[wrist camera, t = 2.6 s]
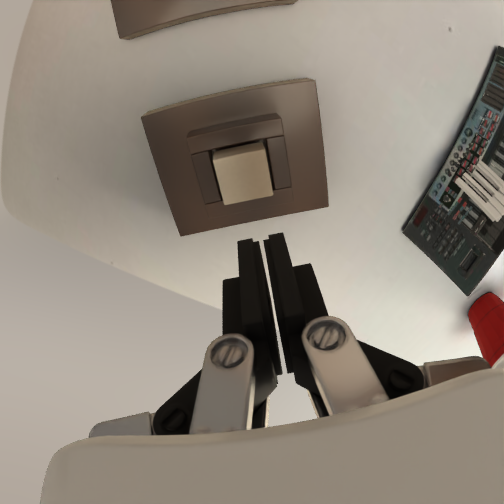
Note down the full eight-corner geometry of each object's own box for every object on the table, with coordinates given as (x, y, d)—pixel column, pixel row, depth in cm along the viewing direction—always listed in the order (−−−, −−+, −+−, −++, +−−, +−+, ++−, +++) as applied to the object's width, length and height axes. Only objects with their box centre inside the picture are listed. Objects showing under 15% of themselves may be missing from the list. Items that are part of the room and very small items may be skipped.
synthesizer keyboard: (469, 302, 23) (464, 274, 16) (404, 237, 30) (372, 191, 23) (570, 148, 17) (579, 82, 10) (505, 106, 24) (494, 40, 17)
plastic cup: (493, 268, 34) (539, 328, 24) (511, 291, 38) (547, 342, 28) (443, 320, 39) (479, 384, 29) (468, 335, 43) (498, 388, 33)
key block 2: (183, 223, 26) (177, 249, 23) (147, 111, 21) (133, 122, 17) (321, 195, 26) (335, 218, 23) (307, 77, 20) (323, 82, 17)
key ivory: (224, 194, 21) (224, 205, 20) (213, 151, 19) (212, 160, 18) (269, 185, 21) (273, 195, 20) (261, 141, 19) (265, 148, 18)
